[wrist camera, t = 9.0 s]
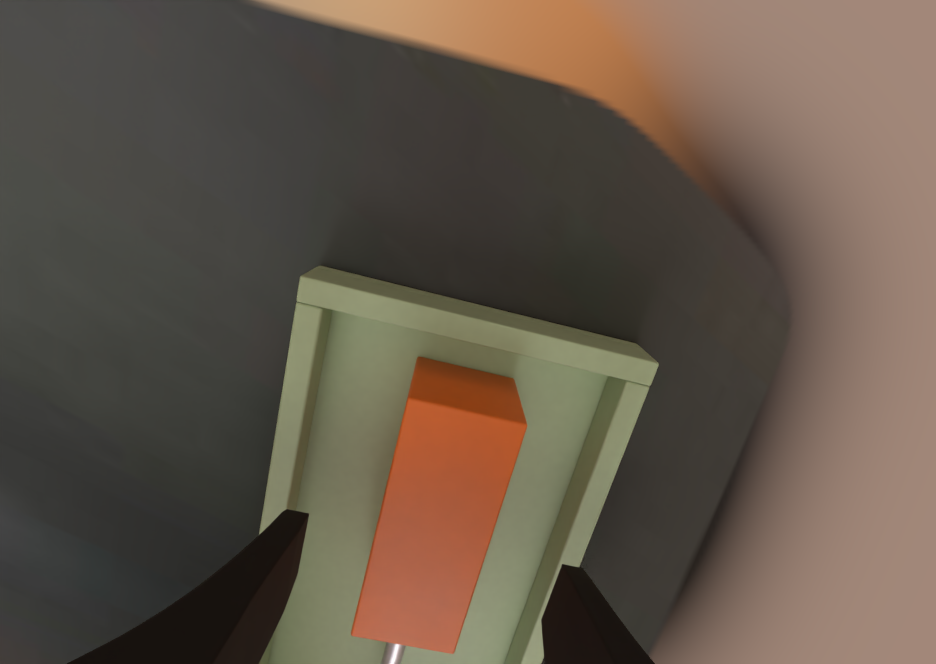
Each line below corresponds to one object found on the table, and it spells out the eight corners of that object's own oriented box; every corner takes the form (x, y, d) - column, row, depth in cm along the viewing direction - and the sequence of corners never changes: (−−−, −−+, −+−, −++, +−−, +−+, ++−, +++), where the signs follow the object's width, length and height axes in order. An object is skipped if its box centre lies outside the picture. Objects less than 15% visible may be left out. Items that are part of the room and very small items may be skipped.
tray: (489, 737, 22) (492, 790, 20) (245, 697, 21) (224, 748, 19) (637, 343, 17) (660, 363, 15) (318, 264, 16) (299, 275, 14)
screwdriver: (417, 355, 16) (407, 397, 13) (515, 378, 17) (528, 425, 13) (337, 686, 20) (315, 781, 17) (416, 700, 21) (408, 795, 17)
